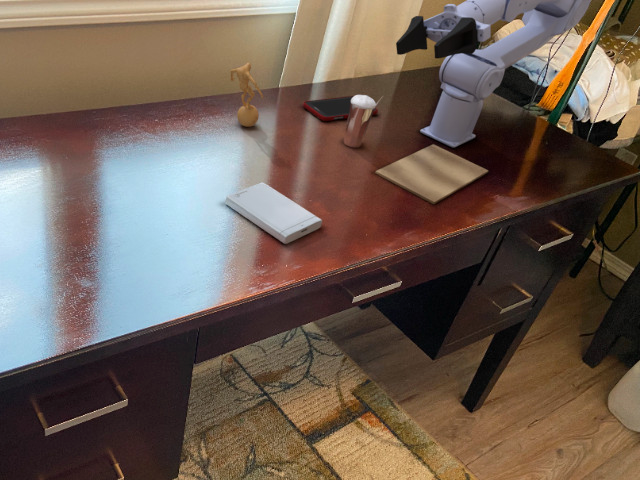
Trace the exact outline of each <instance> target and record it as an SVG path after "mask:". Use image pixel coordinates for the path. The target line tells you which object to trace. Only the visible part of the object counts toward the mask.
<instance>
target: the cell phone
mask: <svg viewBox="0 0 640 480" xmlns="http://www.w3.org/2000/svg"><path fill="white" fill-rule="evenodd" d="M354 96H355V95H348V96H340V97H332V98H322V99H314V100H313V99H312V100H306V101H303V105H302V107H303V108H304V109H305V110H307V111H308V112H309V113H311V114H312V115H313V116H315V117H317V118H318V119H319V120H321V121H323V122H330V121H334V120H336V121H337V120H343V119H344V120H345V119H348V115H349V109H350V103H351V99H352V98H353V97H354ZM378 112H379V109H378V108H377V107H375V109H374V112H373V114H372V116H373V115H375V116H376V115H377V114H378Z"/></svg>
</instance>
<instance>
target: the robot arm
mask: <svg viewBox="0 0 640 480" xmlns="http://www.w3.org/2000/svg"><path fill="white" fill-rule="evenodd" d="M590 4H591V0H465V1H463V2H461V3H460V4H458V5H456V4H454V3H447V4H445V5H444V6H443V11H442V12H441V13H438V14H436V15H434V16H432V17H429V18H427V19H424V16H423V15H415V16H413V17H411V19H410V22H409V25H408V27H407V29H406V30H405V32H404V33H403V34H402V36H401V37H400V38H399V39H397V40H396V42H395V46H396V55H398V56H399V55H400V56H401V55H407V54H408V53H410V52H413V51H416V50H422V51H427V50H428V40H430V41H432V42H434V43H435V44H434V45H433V49H434V59H443V58H444V59H443V62H442V63H441V65H440V68H439V72H438V79H439V83H441V85H440V89H442V91H441V95H440V97H439V100H438V102H437V106H436V109H435V111H434V114H433V117H432V120H431V122H430V125H429V126H426V127H424V128H422V129H420V131H419V132H420V133H421V134H423V135H425V136H427V137H429V138H432V139H433V140H435V141H438V142H439V143H442V144H444V145H446V146H448V147H451V148H457V147H459V146H461V145H463V144H465V143H467V142H469V141H472V140H473V139H475V138H476V136H477V135H476V134H474V133H473V132H474V130H475V127H476V124H477V122H478V119H479V117H480V116H481V113H482V110H483V107H484V100H485V99H487V98H488V97H489V96H491V95H492V94H493V92H494V91H495V90H496V89H497V88H499V87H500V85H501V84H502V81H503V78H504V75H505V71H506V69H508V68H510V67H511V66H512V65H514V64H516V63H517V62H520V61H521V60H523V59H524V58H527V57H528V56H529V55H531V54H533V53H535V52H537V50H539V49H541V48H542V47H544V46H545V45H546V44H547V43H549V42H550V41H551V40H552V39H553V38H555V36H560V35H563V34H565V33H566V32H568V31H570V30H571V29H574V28H575V27H576V26H577V25H578V24H579V23H580V21H581V19H582V18H583V17H584V16H585V14H586V12H587V11H588V9H589V6H590ZM521 14H523V16H522V17H521V22H522V23H523V26H522V27H520V28H518V29H516V30H515V31H513V32H511V33H509V34H508V35H506V36H505V37H503V38H501V39H499V40H497V41H495V42H494V43H492V44H489V45H488V46H487V47H484V48H483V49H477V48H476V47H477V42H480V43H484V42H486V41H488V40H489V39H490V38H491V37H492V35H491V31H492V30H491V28H492V27H491V26H492V25H494V24H495V23H497V22H498V21H503V22H508V23H511V22H513V21H514V20H515V19H516V18H517V16H519V15H521Z"/></svg>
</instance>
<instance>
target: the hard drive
mask: <svg viewBox="0 0 640 480" xmlns="http://www.w3.org/2000/svg"><path fill="white" fill-rule="evenodd" d="M224 201H225V202H224V203H225V205H227V206H228V207H229V208H231V209H233V210H234V211H236V212H237V213H238V214H239V215H241V216H242V217H244V218H246V219H247V220H248V221H250V222H252V224H254V225H256V226H258V227H259V228H261V230H263V231H265V232H266V233H268V234H269V235H271V236H272V237H274V238H275V239H277V240H278V241H279V242H281V243H282V244H284V245H287V244H289V243H291V242H293V241H296V240H298V239H299V238H302V237H304V236H306V235H308V234H311V233H312V232H315V231H317V230H319V229H320V228H321V227H322V226H323V225H322V224H323V220H322V218H320V217H318V216H317V215H315V214H313V213H312V212H311V211H309V210H307V209H306V208H304V207H303V206H302V205H299V204H298V203H297V202H295V201H293V200H292V199H290V198H288V197H286V195H284V194H282V193H281V192H280V191H278V190H276V189H274V188H273V187H271V186H270V185H268V184H267V183H265V182H263V181H262V182H259V183H257V184H254V185H251V186H248V187H246V188H243V189H240V190H238V191H236V192H233V193H230V194H228V195H227V196H226V197H225V200H224Z"/></svg>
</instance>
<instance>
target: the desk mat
mask: <svg viewBox="0 0 640 480" xmlns="http://www.w3.org/2000/svg"><path fill="white" fill-rule="evenodd" d="M488 173H489V170H488V169H486V168H484V167H482V166H480V165H478V164H475V163H473V162H471V161H469V160H467V159H465V158H463V157H462V156H459V155H457V154H455V153H453V152H451V151H449V150H446V149H444V148H442V147H440V146H438V145H436V144H434V143H433V144H431V145H429V146H426V147H424V148H422V149H420V150H418V151H416V152H414V153H411V154H409V155H407V156H405V157H403V158H401V159H398V160H396V161H393V162H392V163H390V164H388V165H386V166H383V167H381V168H379V169H376V171H375V173H374V174H375V175H377V176H379V177H381V178H383V179H385V180H386V181H389V182H391V183H392V184H395V185H396V186H398V187H400V188H401V189H404V190H406V191H407V192H409V193H411V194H413V195H415V196H416V197H419V198H421V199H422V200H424V201H427V202H428V203H430V204H432V205H435V204H437V203H439V202H440V201H442V200H444V199H446V198H447V197H449V196H450V195H452V194H454V193H456V192H458V191H459V190H461V189H463V188H465V187H467V186H468V185H470V184H471V183H473V182H475V181H476V180H478V179H480V178H481V177H483V176H485V175H486V174H488Z"/></svg>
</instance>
